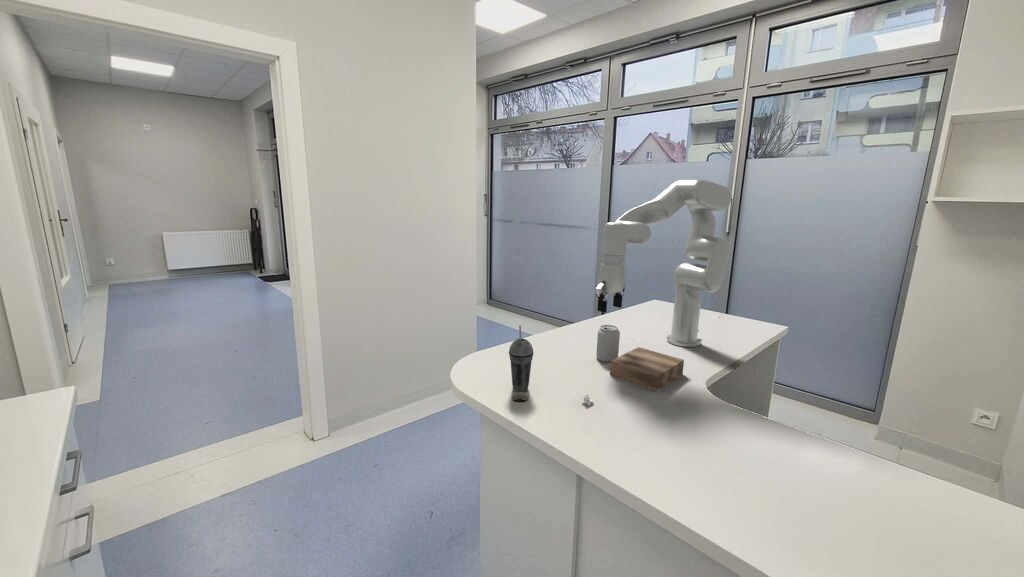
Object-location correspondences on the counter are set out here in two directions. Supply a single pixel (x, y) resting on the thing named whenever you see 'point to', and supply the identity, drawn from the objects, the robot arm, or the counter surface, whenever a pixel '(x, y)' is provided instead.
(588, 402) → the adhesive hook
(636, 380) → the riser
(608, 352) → the can
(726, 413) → the counter surface
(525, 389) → the beverage cup
